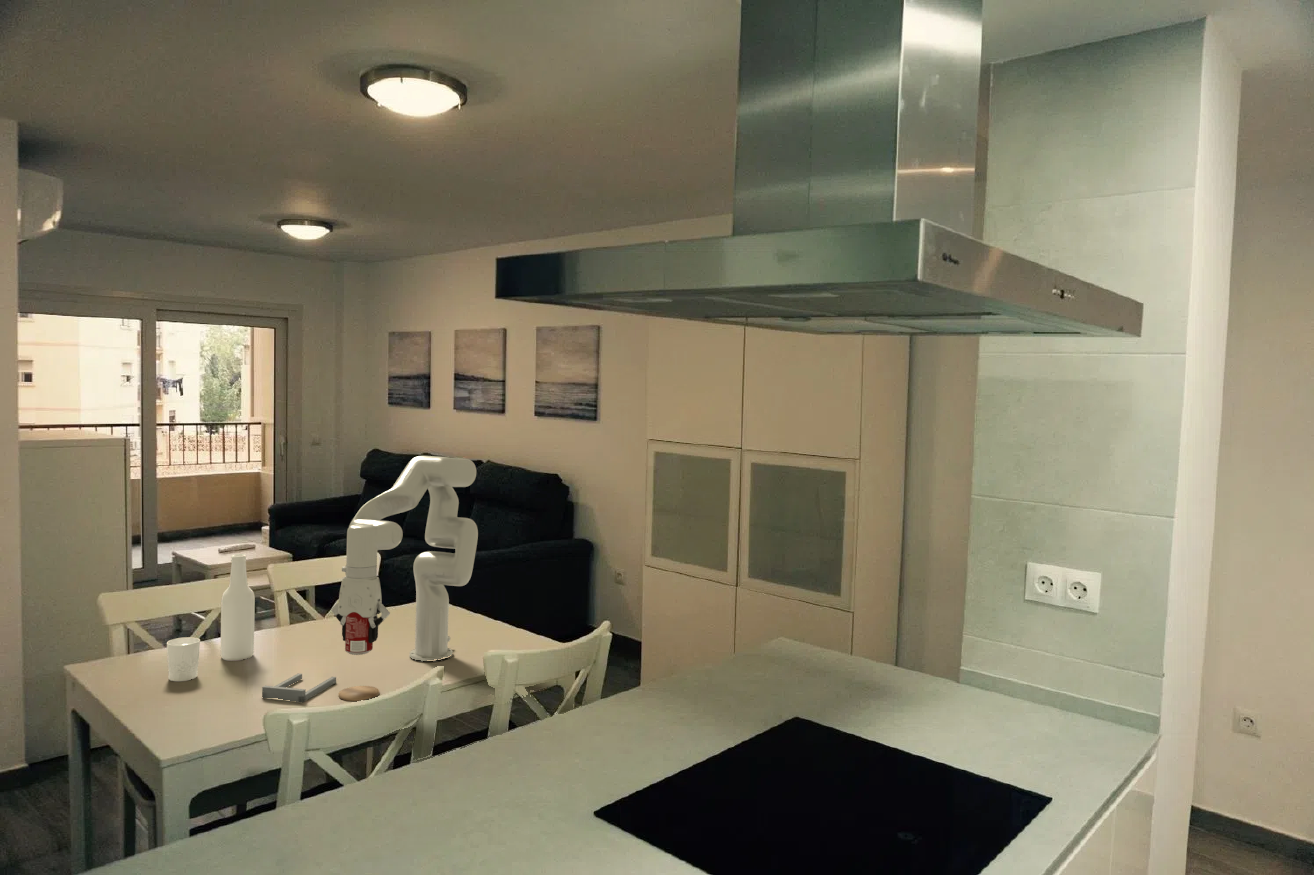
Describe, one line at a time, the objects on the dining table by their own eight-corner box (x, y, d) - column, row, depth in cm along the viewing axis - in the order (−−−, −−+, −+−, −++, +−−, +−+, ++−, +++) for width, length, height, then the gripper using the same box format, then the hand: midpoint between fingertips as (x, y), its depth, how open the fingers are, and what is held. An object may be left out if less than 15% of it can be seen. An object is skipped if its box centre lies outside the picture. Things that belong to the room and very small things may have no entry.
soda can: (367, 656, 220) (368, 610, 220) (340, 655, 220) (342, 609, 220) (376, 649, 227) (377, 604, 226) (350, 647, 227) (351, 602, 226)
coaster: (350, 686, 230) (350, 684, 230) (385, 689, 228) (385, 687, 228) (330, 699, 220) (330, 696, 220) (367, 702, 218) (367, 700, 218)
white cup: (165, 683, 227) (166, 646, 226) (166, 675, 234) (167, 638, 233) (199, 680, 231) (199, 643, 230) (199, 671, 237) (200, 635, 237)
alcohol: (213, 659, 249) (214, 556, 247) (235, 651, 257) (237, 551, 256) (238, 662, 246) (240, 559, 245) (260, 654, 255) (262, 553, 253)
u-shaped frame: (298, 678, 234) (298, 667, 234) (336, 682, 233) (336, 671, 233) (262, 698, 219) (262, 686, 219) (302, 702, 217) (302, 690, 217)
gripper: (322, 572, 220) (321, 641, 221) (385, 577, 218) (384, 647, 218) (338, 567, 228) (336, 634, 229) (399, 571, 225) (397, 639, 226)
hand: (359, 639), depth 223 cm, fingers closed on soda can, 6 cm apart
